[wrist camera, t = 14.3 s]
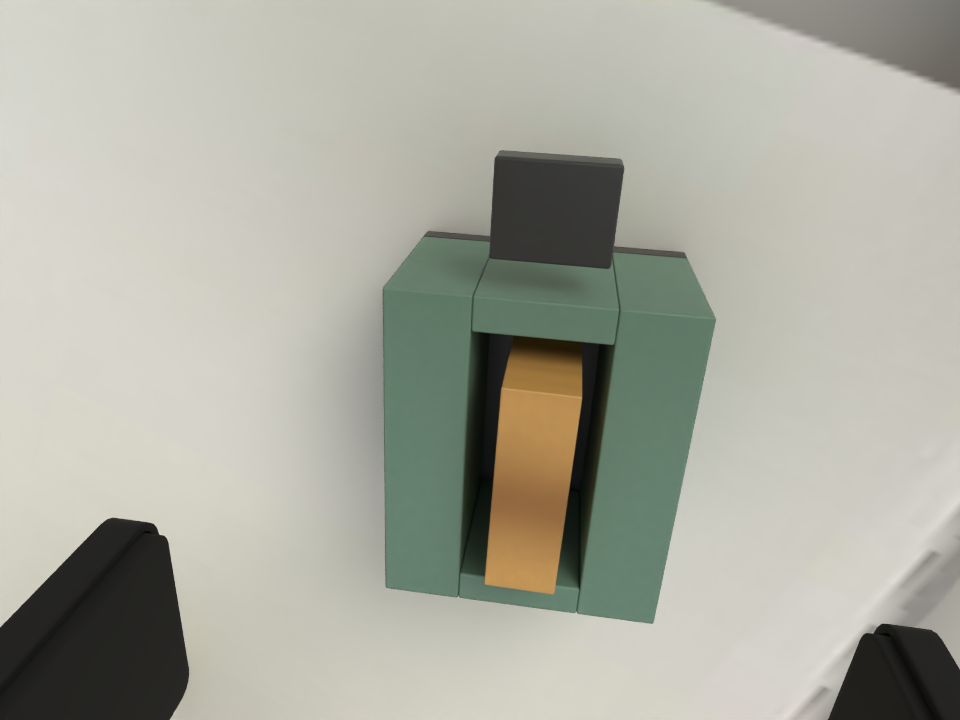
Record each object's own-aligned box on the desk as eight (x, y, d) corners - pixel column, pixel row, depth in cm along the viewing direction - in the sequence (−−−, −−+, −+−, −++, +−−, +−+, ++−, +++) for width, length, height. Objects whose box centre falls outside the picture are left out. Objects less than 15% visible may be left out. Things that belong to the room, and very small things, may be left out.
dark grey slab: (499, 149, 21) (494, 155, 20) (622, 158, 20) (624, 165, 19) (493, 248, 22) (488, 259, 21) (609, 258, 22) (610, 270, 20)
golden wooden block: (521, 301, 28) (501, 388, 21) (582, 307, 27) (582, 397, 21) (505, 463, 31) (484, 585, 24) (560, 470, 31) (554, 595, 24)
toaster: (427, 230, 28) (382, 287, 21) (685, 252, 27) (716, 318, 20) (422, 482, 33) (384, 588, 27) (639, 508, 32) (653, 625, 26)
